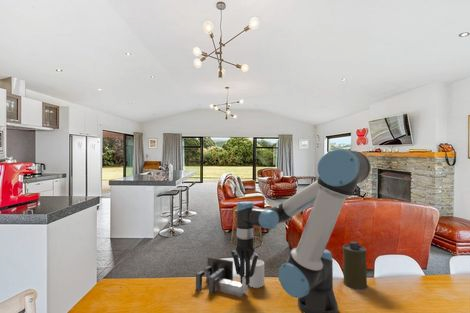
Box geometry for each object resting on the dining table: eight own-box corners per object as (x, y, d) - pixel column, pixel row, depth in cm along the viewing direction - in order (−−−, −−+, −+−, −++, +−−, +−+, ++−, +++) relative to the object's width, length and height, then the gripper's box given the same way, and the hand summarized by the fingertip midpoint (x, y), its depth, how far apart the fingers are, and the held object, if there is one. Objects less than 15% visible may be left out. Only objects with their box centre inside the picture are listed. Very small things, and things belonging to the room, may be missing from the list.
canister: (362, 292, 108) (361, 247, 110) (339, 283, 116) (338, 241, 117) (371, 284, 116) (369, 242, 117) (348, 277, 123) (348, 237, 125)
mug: (245, 277, 123) (245, 256, 123) (261, 277, 123) (261, 256, 124) (247, 288, 111) (247, 265, 112) (265, 288, 111) (265, 265, 112)
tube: (245, 292, 107) (245, 283, 108) (241, 297, 103) (241, 287, 104) (217, 285, 113) (218, 277, 114) (213, 289, 110) (213, 280, 110)
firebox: (232, 282, 117) (232, 261, 118) (218, 295, 105) (218, 271, 105) (208, 276, 123) (208, 256, 124) (192, 288, 111) (192, 266, 111)
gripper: (261, 236, 107) (261, 291, 106) (235, 233, 113) (235, 284, 112) (255, 241, 101) (255, 299, 99) (228, 237, 106) (227, 292, 105)
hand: (245, 291), depth 105 cm, fingers closed
